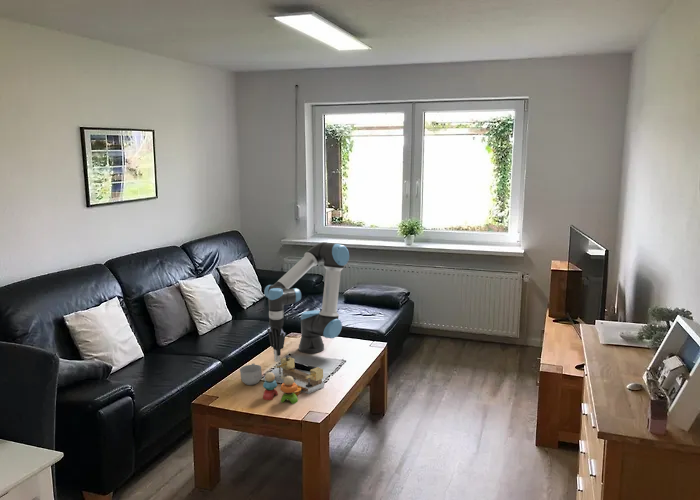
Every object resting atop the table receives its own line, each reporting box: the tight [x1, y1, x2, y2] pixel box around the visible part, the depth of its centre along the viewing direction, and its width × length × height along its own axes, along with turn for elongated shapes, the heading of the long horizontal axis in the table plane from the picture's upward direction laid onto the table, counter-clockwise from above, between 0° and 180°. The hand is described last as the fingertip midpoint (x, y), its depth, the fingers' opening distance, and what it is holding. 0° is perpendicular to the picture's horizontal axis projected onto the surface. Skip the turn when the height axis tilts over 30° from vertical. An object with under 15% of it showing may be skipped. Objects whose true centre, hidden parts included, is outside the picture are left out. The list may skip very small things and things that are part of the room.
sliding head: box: [275, 355, 296, 374], centre depth 295 cm, size 10×5×8 cm, turn 138°
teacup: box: [239, 362, 263, 386], centre depth 291 cm, size 14×11×8 cm
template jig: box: [273, 366, 325, 395], centre depth 288 cm, size 11×27×9 cm, turn 48°
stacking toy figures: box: [262, 371, 302, 405], centre depth 272 cm, size 18×17×12 cm
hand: (277, 360), depth 302 cm, fingers closed
